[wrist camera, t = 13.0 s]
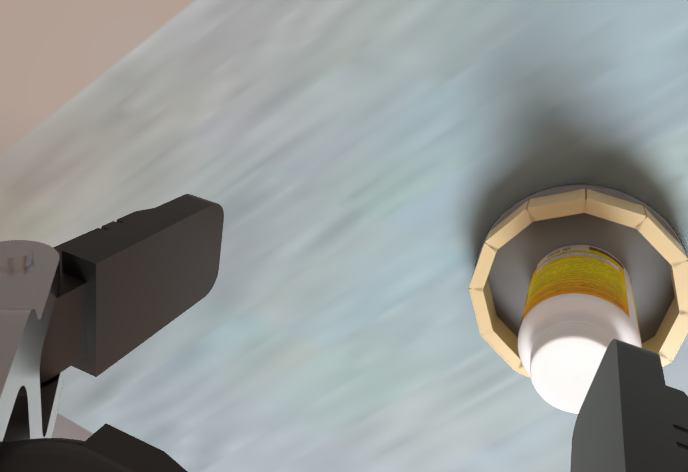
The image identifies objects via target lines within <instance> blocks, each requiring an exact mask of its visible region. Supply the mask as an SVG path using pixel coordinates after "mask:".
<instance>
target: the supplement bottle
mask: <svg viewBox="0 0 688 472" xmlns="http://www.w3.org/2000/svg"><path fill="white" fill-rule="evenodd" d="M613 339H617V340H620V341H623V342H626V343H629V344H632V345H635V346H638V347H641V348H642V344H641V338H640V331H639V325H638V319H637V312H636V306H635V300H634V295H633V289H632V284H631V280H630V277H629V275H628V272H627V271H626V269H625V267H624V266H623V265H622V264H621V262H620V261H619V260H618V259H616V258H615V257H614V256H613V255H611V254H610V253H608V252H606V251H605V250H602V249H600V248H597V247H594V246H590V245H569V246H564V247H561V248H558V249H556V250H554V251H552V252H550V253H549V254H548V255H546V256H545V257H544V258H543V259H542V260H541V261H540V262H539V263H538V265H537V266H536V268H535V269H534V272H533V274H532V277H531V280H530V284H529V289H528V293H527V298H526V302H525V307H524V312H523V316H522V320H521V324H520V328H519V332H518V352H519V356H520V359H521V362H522V364H523V366H524V368H525V370H526V371H527V373H528V374H529V375H530V376H531V380H532V383H533V385H534V387H535V389H536V391H537V392H538V393H539V394H540V396H541V397H542V398H543V399H544V400H545V401H547V402H548V403H549V404H551V405H553V406H554V407H556V408H558V409H561V410H563V411H566V412H571V413H578V414H579V411H580V408H581V406H582V404H583V401H584V399H585V397H586V395H587V392H588V390H589V388H590V385H591V383H592V381H593V379H594V376H595V374H596V372H597V370H598V367H599V365H600V363H601V361H602V358H603V356H604V354H605V351H606V349H607V347H608V345H609V344H610V342H611V341H612V340H613Z"/></svg>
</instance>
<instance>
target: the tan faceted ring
mask: <svg viewBox="0 0 688 472" xmlns="http://www.w3.org/2000/svg"><path fill="white" fill-rule="evenodd" d="M569 245H590V246H594V247H597V248H600V249H602V250H605V251H606V252H608V253H610V254H611V255H613V256H614V257H615V258H616V259H618V260H619V261H620V262H621V264H622V265H623V266H624V267H625V269H626V271H627V272H628V275H629V277H630V280H631V284H632V289H633V295H634V300H635V306H636V312H637V319H638V325H639V331H640V338H641V344H642V348H644V349H647V350H650V351H653V352H656V353H658V354H659V355H660V359H661V364H662V367H663V366H665V365H667V364H669V363H671V360H672V361H673V359H674V357H675V355H676V353H677V352H678V350H679V348H680V346H681V344H682V342H683V340H684V339H685V337H686V335H687V333H688V258H687V255H686V253H685V251H684V248H683V246H682V244H681V241H680V240H679V238H678V236H677V235H676V233H675V231H674V230H673V229H672V227H671V226H670V225H669V224H668V222H667V221H666V220H665V219H664V218H663V217H662V216H661V215H660V214H659V213H658V212H656V211H655V210H654V209H653V208H651V207H650V206H649V205H647V204H646V203H644V202H643V201H641V200H639V199H637V198H635V197H633V196H631V195H629V194H627V193H624V192H621V191H619V190H616V189H612V188H608V187H603V186H597V185H588V184H571V185H563V186H556V187H552V188H548V189H545V190H542V191H539V192H536V193H534V194H531V195H529V196H527V197H526V198H524V199H522V200H520V201H518V202H517V203H516V204H514V205H513V206H511V207H510V208H509V209H508V210H506V211H505V212H504V213H503V214H502V215H501V216H500V217H499V218H498V219H497V221H496V222H495V223H494V224H493V226H492V227H491V229H490V230H489V232H488V234H487V235H486V237H485V239H484V241H483V244H482V246H481V248H480V251H479V253H478V257H477V261H476V265H475V272H474V275H473V278H472V280H471V283H470V286H469V291H470V295H471V299H472V303H473V307H474V311H475V315H476V319H477V323H478V327H479V331H480V334H481V336H482V337H483V338H484V339H485V340H486V341H487V342H488V343H489V344H490V345H491V346H492V347H493V349H494V350H495V351H496V352H497V353H498V354H499V355H500V356H501V357H502V358H503V359H504V360H505V361H506V362H507V363H508V364H509V365H510V367H511V368H512V369H513V370H514V371H516V370H517V373H520V374H522V375H525V376H527V377H530V378H531V376H530V375H529V374H528V373H527V371H526V370H525V368H524V366H523V364H522V362H521V359H520V356H519V352H518V332H519V328H520V324H521V320H522V316H523V312H524V307H525V302H526V298H527V293H528V289H529V284H530V280H531V277H532V274H533V272H534V269H535V268H536V266H537V265H538V263H539V262H540V261H541V260H542V259H543V258H544V257H545V256H546V255H548V254H549V253H550V252H552V251H554V250H556V249H558V248H561V247H564V246H569Z"/></svg>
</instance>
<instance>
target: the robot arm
mask: <svg viewBox="0 0 688 472" xmlns="http://www.w3.org/2000/svg"><path fill="white" fill-rule="evenodd" d="M223 220H224V213H223V209H222V207H221V205H219V204H217V203H214V202H211V201H208V200H205V199H202V198H199V197H196V196H193V195H190V194H185V195H183V196H181V197H178V198H176V199H174V200H172V201H170V202H167V203H165V204H163V205H161V206H158V207H156V208H152V209H147V210H141V211H136V212H133V213H131V214H129V215H126V216H124V217H122V218H120V219H117V222H114V221H113V222H111V223H108V224H106V225H104V226H102V228H101V229H100V228H97V229H95V230H92V231H90V232H88V233H86V234H83V235H81V236H79V237H76V238H74V239H72V240H70V241H67V242H65V243H63V244H61V245H58V246H56V247H54V248H53V247H51V246H49V245H46V244H44V243H40V242H35V241H27V240H11V241H2V242H0V472H187V471H186V470H185V469H184V468H182V467H181V466H180V465H179V464H178V463H177V462H176V461H174V460H173V459H172V458H171V457H170V456H169V455H167V454H166V453H165V452H164V451H162V450H160V449H158V448H156V447H154V446H151V445H149V444H147V443H145V442H143V441H141V440H139V439H137V438H135V437H133V436H131V435H129V434H127V433H125V432H122V431H120V430H118V429H116V428H114V427H112V426H110V425H108V424H105V425H104V426H102V427H101V428H100V429H99V430H98V431H97V432H95V433H94V434H93V435H92V436H91V437H90V438H88V439H87V440H86V441H81V440H73V439H63V438H52V434H53V429H54V425H55V420H56V415H57V411H58V406H59V402H60V397H61V393H62V388H63V370H65V369H66V368H68V367H69V366H73V367H76V368H78V369H80V370H82V371H84V372H86V373H89V374H91V375H93V376H95V377H97V376H98V375H99V374H101V373H102V372H103V371H105V370H106V369H108V368H109V367H110V366H112V365H113V364H114V363H116V362H117V361H118V360H120V359H121V358H122V357H124V356H125V355H127V354H128V353H129V352H131V351H132V350H133V349H135V348H136V347H137V346H139V345H140V344H141V343H143V342H144V341H146V340H147V339H148V338H150V337H151V336H152V335H154V334H155V333H156V332H158V331H159V330H160V329H162V328H163V327H164V326H166V325H167V324H169V323H170V322H171V321H173V320H174V319H175V318H177V317H178V316H179V315H181V314H182V313H183V312H185V311H186V310H188V309H189V308H190V307H192V306H193V305H194V304H196V303H197V302H198V301H200V300H201V299H202V298H204V297H205V296H206V295H207V294H208V293H209V292H210V290H211V289H212V287H213V285H214V283H215V281H216V278H217V275H218V270H219V260H220V250H221V240H222V230H223ZM571 472H688V397H687V395H686V394H685V393H684V392H683V391H680V390H677V389H674V388H672V387H669V386H666V385H665V380H664V375H663V370H662V364H661V359H660V355H659V354H658V353H656V352H653V351H650V350H647V349H644V348H641V347H638V346H635V345H632V344H629V343H626V342H623V341H620V340H617V339H613V340H612V341H611V342H610V344H609V345H608V347H607V349H606V351H605V354H604V356H603V358H602V361H601V363H600V365H599V367H598V370H597V372H596V374H595V376H594V379H593V381H592V383H591V385H590V388H589V390H588V392H587V395H586V397H585V399H584V401H583V404H582V406H581V408H580V411H579V414H578V417H577V420H576V424H575V428H574V432H573V438H572V454H571Z"/></svg>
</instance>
